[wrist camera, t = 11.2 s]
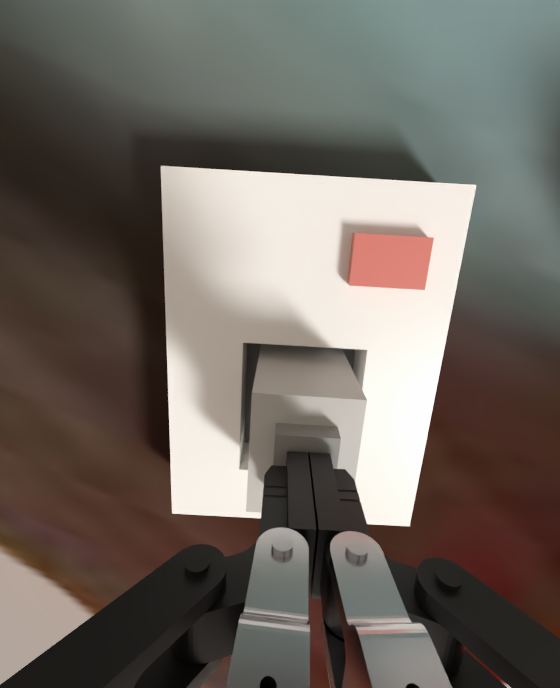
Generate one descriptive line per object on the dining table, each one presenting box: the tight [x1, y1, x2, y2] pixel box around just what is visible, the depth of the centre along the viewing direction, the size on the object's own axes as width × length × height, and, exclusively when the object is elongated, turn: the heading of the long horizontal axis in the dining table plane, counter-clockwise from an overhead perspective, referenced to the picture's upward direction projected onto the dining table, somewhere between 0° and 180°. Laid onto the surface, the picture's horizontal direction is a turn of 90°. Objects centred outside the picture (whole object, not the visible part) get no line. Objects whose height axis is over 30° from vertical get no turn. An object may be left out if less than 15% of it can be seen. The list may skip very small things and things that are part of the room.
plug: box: [246, 344, 367, 513], centre depth 16 cm, size 5×4×7 cm
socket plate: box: [161, 166, 476, 526], centre depth 18 cm, size 16×12×4 cm
